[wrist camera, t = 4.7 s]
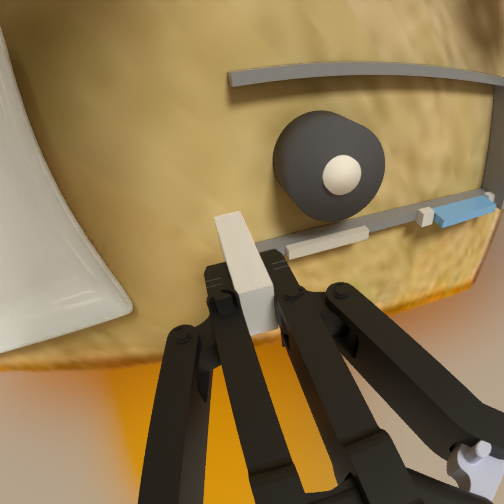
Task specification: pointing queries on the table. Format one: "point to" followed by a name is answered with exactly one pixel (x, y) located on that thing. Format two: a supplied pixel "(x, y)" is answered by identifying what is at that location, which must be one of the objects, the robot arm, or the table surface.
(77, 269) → the square plate
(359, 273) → the table surface
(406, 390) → the robot arm
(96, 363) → the table surface
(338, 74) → the gray u-shaped frame
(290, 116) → the table surface
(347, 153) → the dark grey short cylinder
